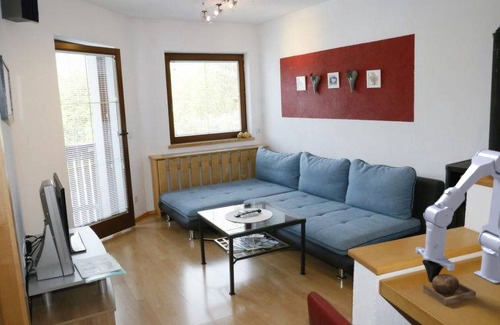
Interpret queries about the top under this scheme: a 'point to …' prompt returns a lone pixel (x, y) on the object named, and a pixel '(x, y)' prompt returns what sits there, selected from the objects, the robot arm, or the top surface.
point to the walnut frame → (466, 295)
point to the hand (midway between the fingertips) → (432, 281)
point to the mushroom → (445, 284)
